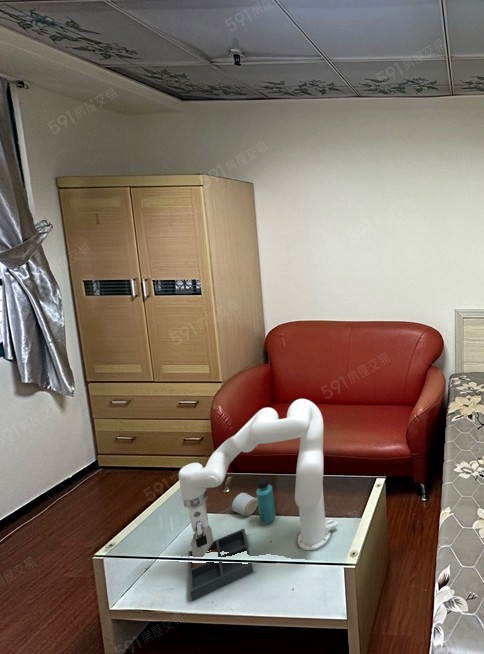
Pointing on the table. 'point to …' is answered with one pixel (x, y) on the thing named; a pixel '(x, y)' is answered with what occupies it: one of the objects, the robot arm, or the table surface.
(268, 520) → the beverage bottle
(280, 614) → the table surface
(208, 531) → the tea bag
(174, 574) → the table surface
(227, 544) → the tray
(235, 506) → the ceramic mug
